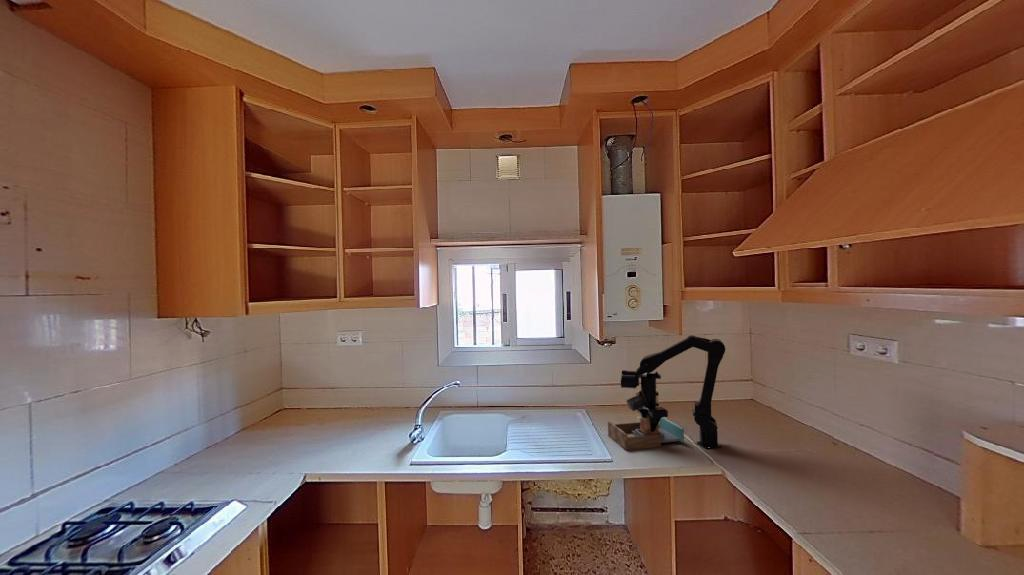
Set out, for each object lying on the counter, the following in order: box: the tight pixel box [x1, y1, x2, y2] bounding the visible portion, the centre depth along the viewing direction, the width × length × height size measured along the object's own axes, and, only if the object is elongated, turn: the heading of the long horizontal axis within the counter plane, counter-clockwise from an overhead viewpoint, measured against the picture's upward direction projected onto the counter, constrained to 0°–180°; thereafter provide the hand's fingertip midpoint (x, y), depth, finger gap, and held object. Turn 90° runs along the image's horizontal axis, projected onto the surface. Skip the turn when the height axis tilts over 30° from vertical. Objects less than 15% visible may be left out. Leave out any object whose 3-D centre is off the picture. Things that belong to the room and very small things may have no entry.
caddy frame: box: [607, 421, 662, 451], centre depth 178 cm, size 16×14×6 cm
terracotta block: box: [640, 417, 659, 435], centre depth 179 cm, size 5×5×5 cm
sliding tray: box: [631, 417, 685, 444], centre depth 179 cm, size 16×14×5 cm
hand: (649, 429), depth 179 cm, fingers closed on terracotta block, 5 cm apart
